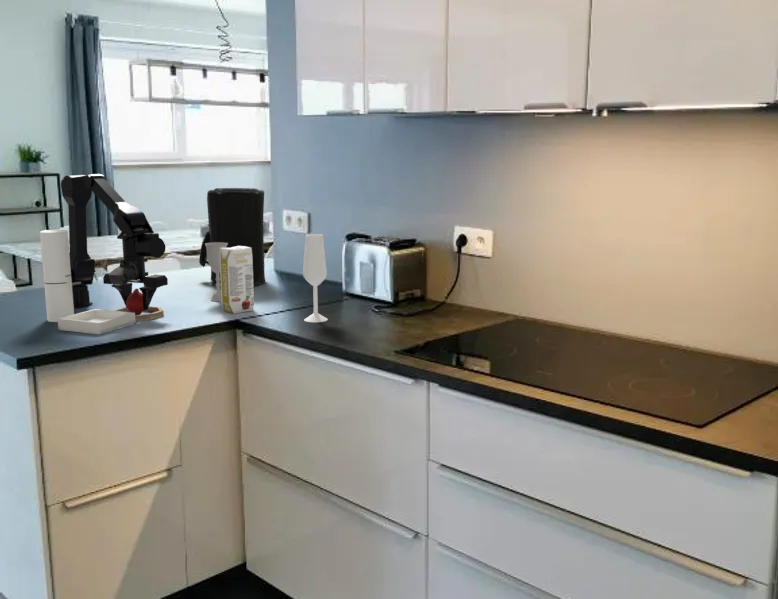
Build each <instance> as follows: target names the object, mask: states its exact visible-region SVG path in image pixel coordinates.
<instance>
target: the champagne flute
mask: <svg viewBox="0 0 778 599" xmlns="http://www.w3.org/2000/svg"><path fill="white" fill-rule="evenodd" d="M325 251H326V250H325V243H324V235H323V233H322V234H321V233H308V234H305V239H304V251H303V252H304V254H303V264H302V265H303V268H302V277H303V279H304V280H306V282H308V283H309V285H310V286H312V291H313V292H312V293H313V295H312V299H313V302H312V303H313V313H312V314H310V315H309V316H307V317H306V318H304V320H303V321H304V322H307V323H323V322H327V321H328V320H329V319H328V318H327V317H325V316H324V315H322V314H320V313H319V312H318V311H319V307H318V304H319V303H318V302H319V298H318V286H320V285H321V284H322V283H323V281H324V280H325V279H326V277H327V275H328V270H327V259H326V252H325Z"/></svg>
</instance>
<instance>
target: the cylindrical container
mask: <svg viewBox="0 0 778 599" xmlns="http://www.w3.org/2000/svg"><path fill="white" fill-rule="evenodd" d="M39 238H40V249H41V251H40V252H41V260H42V261H41V263H42V264H41V265H42V271H43V284H44V295H45V296H44V297H45V308H46V319H47V322H49V323H50V322H52V323H58V319H59V318H63V317H66V316H70V315H74V314H75V307H74V306H73V293H72V280H71V268H70V255H69V253H70V244H69V230H68V229H48V230H41V231H39Z"/></svg>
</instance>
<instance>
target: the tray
mask: <svg viewBox="0 0 778 599" xmlns="http://www.w3.org/2000/svg"><path fill="white" fill-rule="evenodd" d="M112 310H113V309H112ZM112 310H111V309H110V310H109V309H99V308H94V309H89V310H86V311H82V312H78V313H74V315H70V316H66V317H63V318H59V319H58V322H57V329H58V331H65V332H66V331H67V332H76V333H83V334H93V335H103V334H106V333H109V332H111V331H115V330H116V331H117V330H119V329H122V328H125V327H129V326H132V325H134V324H136V323H137V321H136V320H135V313H132V312H122V311H112Z"/></svg>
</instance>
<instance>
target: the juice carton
mask: <svg viewBox="0 0 778 599" xmlns="http://www.w3.org/2000/svg"><path fill="white" fill-rule="evenodd" d="M220 278H221V286H220V291H221V301H220V302H221V307H222V311H223V312H225V313H229V314H234V315H235V314H241V313H246V312H247V313H248V312H252V311H254V309H255V308H254V307H255V304H254V303H255V295H254V294H255V293H254V291H255V290H254V289H255V288H254V287H255V286H254V287H253V259H252V249H251V247H246V246H235V247H231V248H220Z"/></svg>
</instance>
